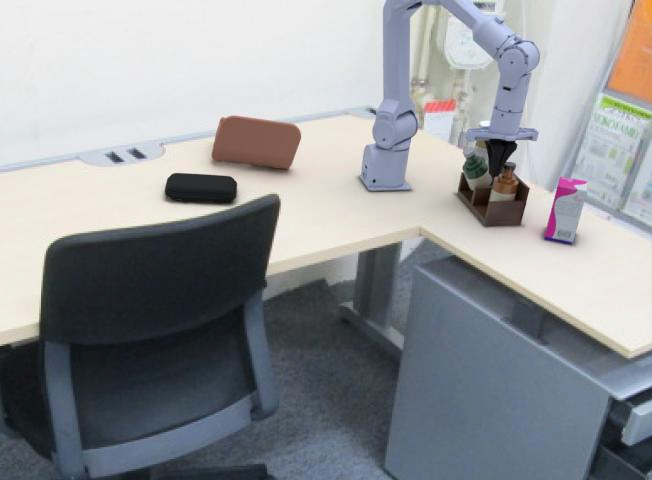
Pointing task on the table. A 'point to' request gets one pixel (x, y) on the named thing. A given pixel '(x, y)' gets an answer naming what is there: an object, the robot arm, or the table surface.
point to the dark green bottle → (476, 170)
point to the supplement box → (566, 210)
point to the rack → (494, 203)
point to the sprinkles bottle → (482, 144)
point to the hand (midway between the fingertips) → (493, 174)
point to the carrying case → (201, 187)
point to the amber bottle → (505, 184)
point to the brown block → (256, 142)
